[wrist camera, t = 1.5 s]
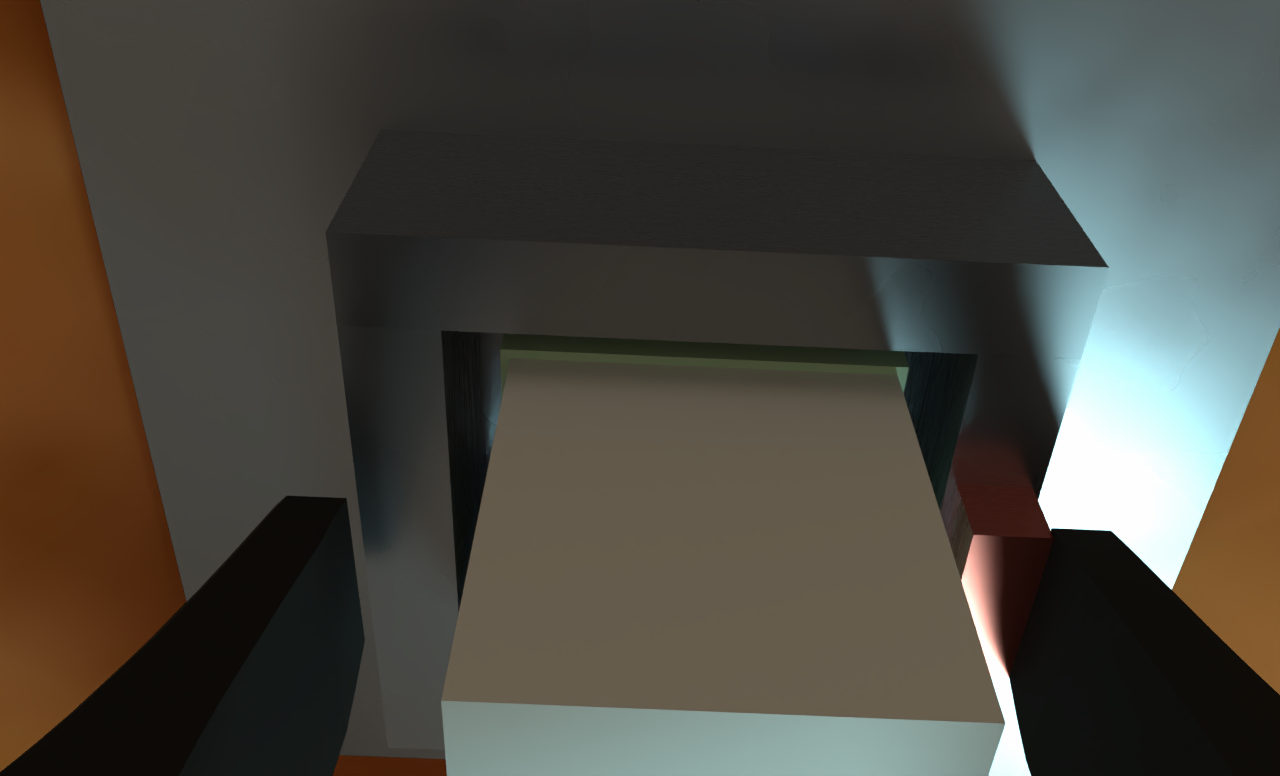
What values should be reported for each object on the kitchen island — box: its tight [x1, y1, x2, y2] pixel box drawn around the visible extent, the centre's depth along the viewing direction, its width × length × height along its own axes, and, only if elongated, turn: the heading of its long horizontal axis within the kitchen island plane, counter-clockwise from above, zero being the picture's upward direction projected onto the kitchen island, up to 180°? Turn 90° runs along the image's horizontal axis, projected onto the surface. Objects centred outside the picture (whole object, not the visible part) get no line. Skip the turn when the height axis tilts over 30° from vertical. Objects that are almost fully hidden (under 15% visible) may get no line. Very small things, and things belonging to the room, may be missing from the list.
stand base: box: [40, 0, 1280, 776], centre depth 14 cm, size 14×14×4 cm
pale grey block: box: [441, 333, 1006, 776], centre depth 12 cm, size 4×4×6 cm
